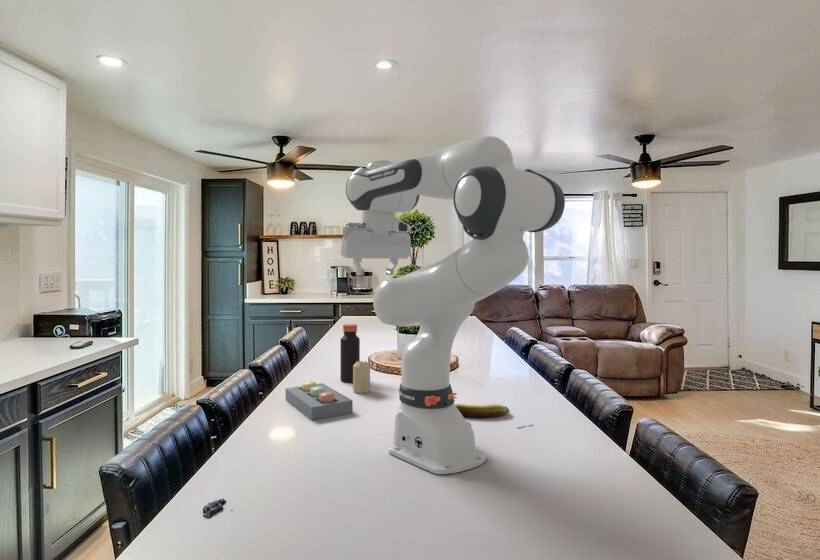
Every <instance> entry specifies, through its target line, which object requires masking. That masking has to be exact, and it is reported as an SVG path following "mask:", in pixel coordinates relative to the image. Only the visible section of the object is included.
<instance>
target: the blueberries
mask: <svg viewBox="0 0 820 560" xmlns="http://www.w3.org/2000/svg"><path fill="white" fill-rule="evenodd" d="M226 503H227V500H225V498H219V499H215V500H213V501H211V502H208V503H207V504H205V505H204V506H203V508H202V514H203V515H202V518H206V519H210V518H213V517H214V516H215V515H216V514H218V513H220V512H222V511H223V510H224V507H223V506H224V505H226ZM231 511H233V508H232V509H231Z"/></svg>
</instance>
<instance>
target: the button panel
mask: <svg viewBox="0 0 820 560" xmlns="http://www.w3.org/2000/svg"><path fill="white" fill-rule="evenodd" d="M316 387H324V388H325V392H332V393H334V402H330V403H324V404H321V403H320V402H319V397H313V398H312V397H311V396H310V391H306V392H304V391H302V385H301V386H294V387H293V386H292V387H286V388H285V401H286V402H288V403H289V404H290V405H291V406H293V407H294V408H295V409H297V410H298V411H299V412H300V413H301V414H303V415H304V416H305V417H307V418H308V419H310V420H311V421H315V420H320V419H326V418H331V417H336V416H342V415H347V414H352V413H353V399H351V398H350V397H347V396H345V395H344V394H342V393H340V392H339V391H337V390H335V389H333V388H332V387H330V386H328V385H326V384H325V383H323V382H320V383H316Z"/></svg>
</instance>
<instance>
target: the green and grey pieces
mask: <svg viewBox="0 0 820 560" xmlns="http://www.w3.org/2000/svg"><path fill="white" fill-rule="evenodd" d="M454 404H455V403H454ZM455 406H456V407H457V409H458V410H459V411H460V413H461V414H462V416H463V417H464V418H465V419H467V418H468V419H485V418H486V419H488V418H490V419H491V418H499V417H502V416H505V415H506V414H507V413H508V412H509V408H508V406H505V405H502V404H498V403H490V404H489V403H487V404H462V403H461V404H460V403H456V404H455ZM530 426H532V424H531V425H529V427H530ZM524 427H526V425H524V426H520V427H519V426H517V427H516V428H517V430H518V429H522V428H524Z"/></svg>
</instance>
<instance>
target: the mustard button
mask: <svg viewBox="0 0 820 560" xmlns="http://www.w3.org/2000/svg"><path fill="white" fill-rule="evenodd" d="M316 384H317V382H315V381H310V380H309V381H304V382H302V383H301V386H302V391H304V392H306V391H310V388H312V387H316Z"/></svg>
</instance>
